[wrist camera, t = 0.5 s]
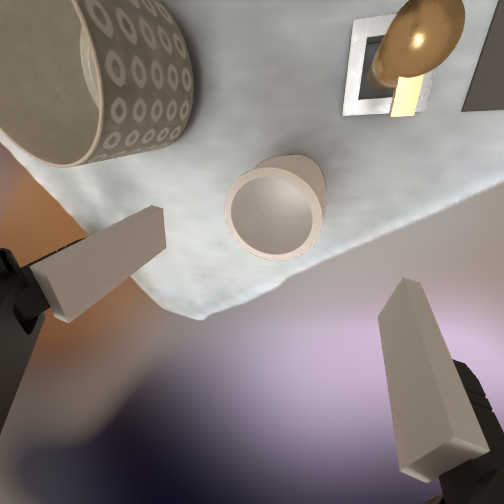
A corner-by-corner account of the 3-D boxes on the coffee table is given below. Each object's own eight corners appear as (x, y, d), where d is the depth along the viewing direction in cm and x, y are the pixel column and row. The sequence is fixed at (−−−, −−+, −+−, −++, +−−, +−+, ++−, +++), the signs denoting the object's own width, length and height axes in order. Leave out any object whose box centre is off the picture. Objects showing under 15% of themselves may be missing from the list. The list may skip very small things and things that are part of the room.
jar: (342, 158, 33) (340, 186, 21) (316, 222, 39) (302, 274, 27) (271, 138, 35) (230, 153, 23) (256, 202, 40) (217, 242, 28)
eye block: (352, 28, 26) (353, 20, 24) (442, 13, 24) (453, 2, 21) (342, 115, 30) (342, 115, 28) (418, 111, 28) (424, 111, 25)
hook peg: (370, 51, 27) (392, -4, 14) (411, 45, 25) (477, -21, 13) (361, 114, 30) (371, 118, 17) (396, 112, 29) (437, 114, 16)
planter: (208, -1, 29) (68, -111, 15) (202, 158, 40) (117, 187, 25) (86, -16, 33) (-126, -117, 18) (110, 134, 43) (-12, 146, 29)
